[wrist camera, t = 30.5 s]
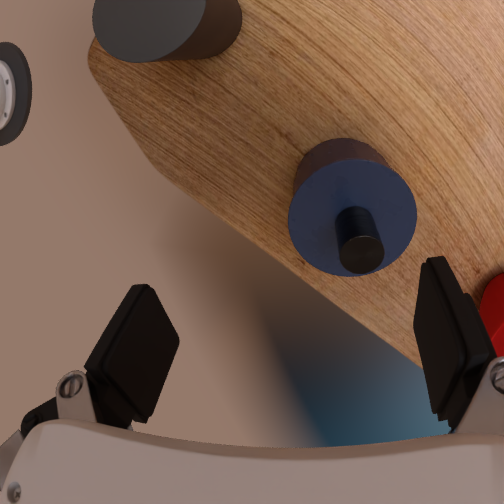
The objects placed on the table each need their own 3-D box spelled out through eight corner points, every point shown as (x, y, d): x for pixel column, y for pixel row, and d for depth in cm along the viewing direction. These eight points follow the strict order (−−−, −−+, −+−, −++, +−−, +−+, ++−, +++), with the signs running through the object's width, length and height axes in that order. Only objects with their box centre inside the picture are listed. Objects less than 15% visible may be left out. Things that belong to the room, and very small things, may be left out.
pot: (302, 232, 39) (301, 275, 32) (286, 144, 33) (281, 170, 26) (391, 223, 36) (408, 264, 29) (387, 133, 30) (410, 156, 23)
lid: (298, 275, 33) (295, 317, 28) (277, 164, 27) (270, 192, 22) (410, 263, 30) (426, 304, 25) (413, 150, 24) (439, 175, 19)
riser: (171, 69, 30) (106, 80, 19) (153, 1, 25) (83, -15, 14) (251, 47, 27) (220, 39, 17) (231, -25, 23) (191, -66, 12)
